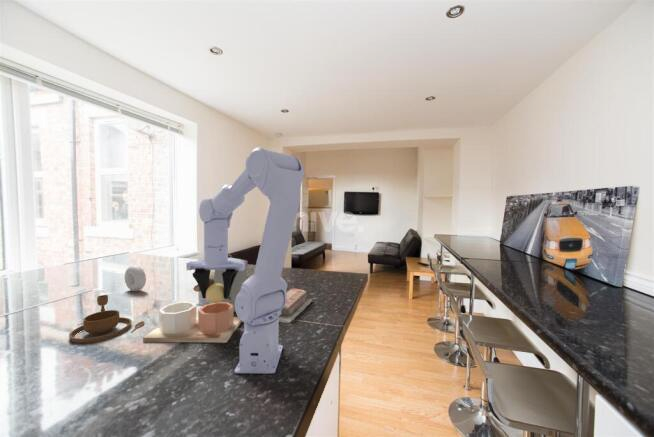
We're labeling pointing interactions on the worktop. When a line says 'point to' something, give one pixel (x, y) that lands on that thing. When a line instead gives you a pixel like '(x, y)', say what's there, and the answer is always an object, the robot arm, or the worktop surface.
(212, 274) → the skull
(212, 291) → the ball
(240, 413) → the worktop surface
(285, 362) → the worktop surface
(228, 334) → the rack board
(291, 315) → the packaged product
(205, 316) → the terracotta octagonal bowl
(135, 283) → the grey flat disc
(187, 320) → the tube white
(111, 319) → the place setting
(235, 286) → the skincare box
